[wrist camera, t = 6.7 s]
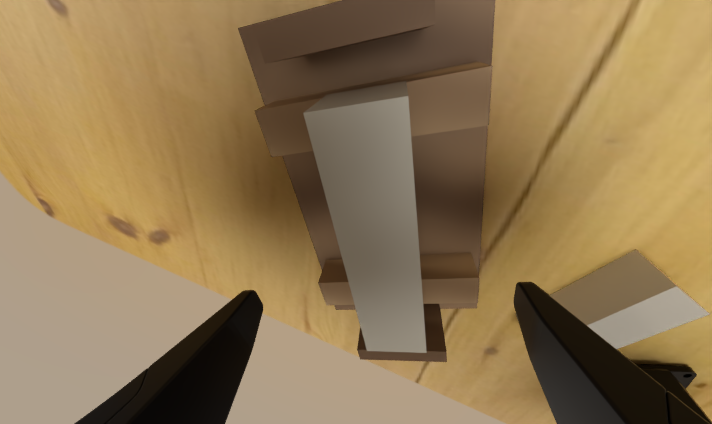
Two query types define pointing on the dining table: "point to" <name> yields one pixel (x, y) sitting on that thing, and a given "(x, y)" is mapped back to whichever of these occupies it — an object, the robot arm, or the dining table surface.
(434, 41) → the wooden slotted stand
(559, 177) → the dining table surface
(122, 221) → the dining table surface
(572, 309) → the clay offcut
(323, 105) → the grey rectangular bar
